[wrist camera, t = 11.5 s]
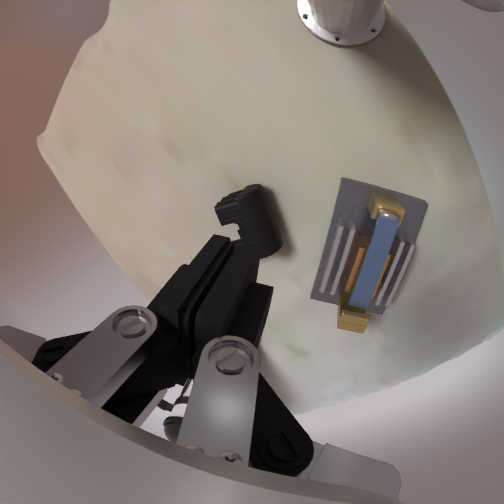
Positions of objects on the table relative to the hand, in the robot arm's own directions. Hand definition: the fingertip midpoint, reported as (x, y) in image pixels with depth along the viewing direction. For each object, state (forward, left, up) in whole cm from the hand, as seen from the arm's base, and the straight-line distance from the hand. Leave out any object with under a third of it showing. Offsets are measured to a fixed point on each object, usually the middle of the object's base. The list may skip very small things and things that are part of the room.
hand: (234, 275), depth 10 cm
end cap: (+13, -6, -35) cm, 38 cm away
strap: (+13, +13, -29) cm, 34 cm away
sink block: (+15, +13, -35) cm, 40 cm away
